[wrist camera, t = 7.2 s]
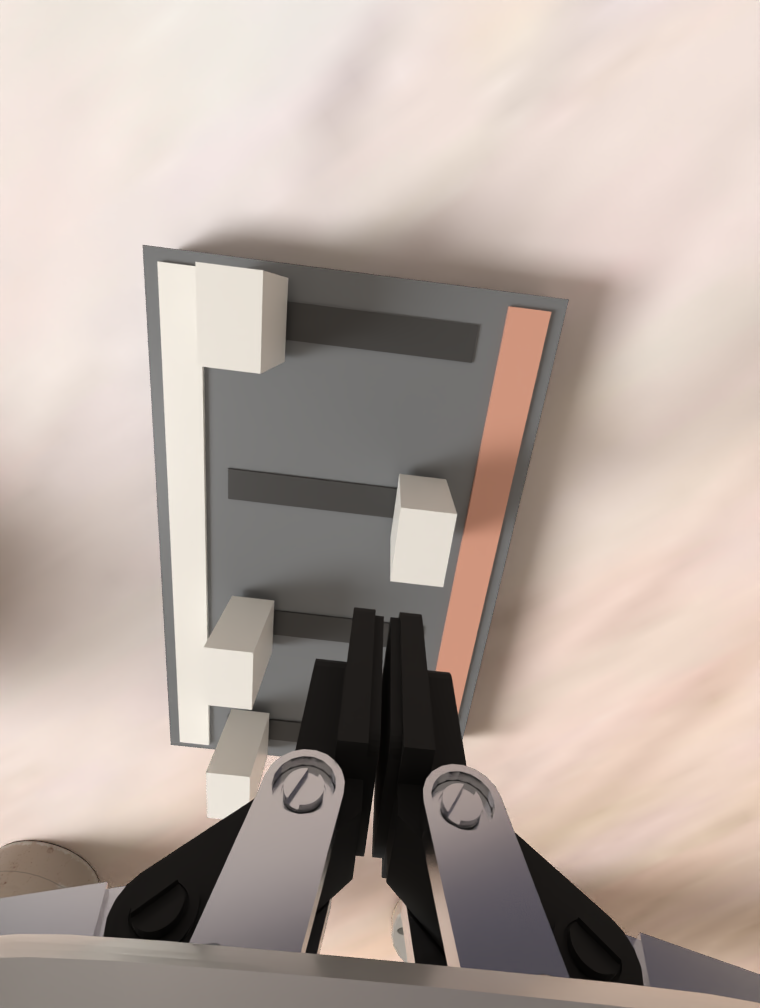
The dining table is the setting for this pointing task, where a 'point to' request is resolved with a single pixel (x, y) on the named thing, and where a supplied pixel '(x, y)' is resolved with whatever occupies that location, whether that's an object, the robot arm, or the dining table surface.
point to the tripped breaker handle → (421, 531)
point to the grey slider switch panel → (323, 478)
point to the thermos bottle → (41, 869)
